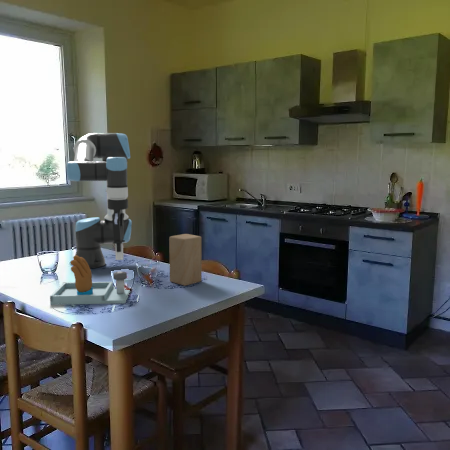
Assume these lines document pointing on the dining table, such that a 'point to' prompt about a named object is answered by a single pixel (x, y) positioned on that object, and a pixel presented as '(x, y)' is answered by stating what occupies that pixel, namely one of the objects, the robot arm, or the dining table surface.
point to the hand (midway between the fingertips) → (119, 259)
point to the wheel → (120, 275)
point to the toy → (82, 276)
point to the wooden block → (185, 259)
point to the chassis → (100, 295)
